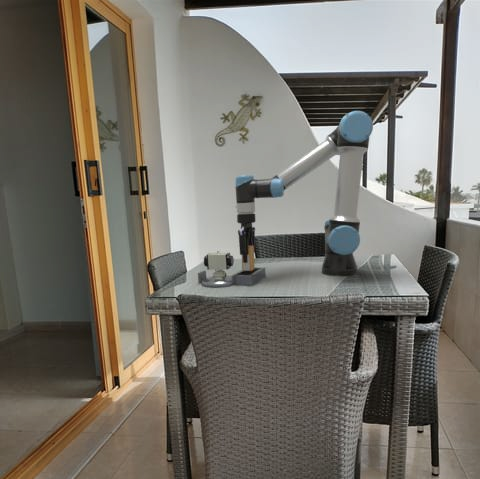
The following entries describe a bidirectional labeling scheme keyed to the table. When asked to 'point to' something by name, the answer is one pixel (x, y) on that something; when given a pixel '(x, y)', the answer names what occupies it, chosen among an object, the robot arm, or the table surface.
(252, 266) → the tan rectangular block
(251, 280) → the grey rectangular frame
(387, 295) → the table surface
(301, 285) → the table surface
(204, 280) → the grey disc
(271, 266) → the table surface
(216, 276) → the pneumatic valve
